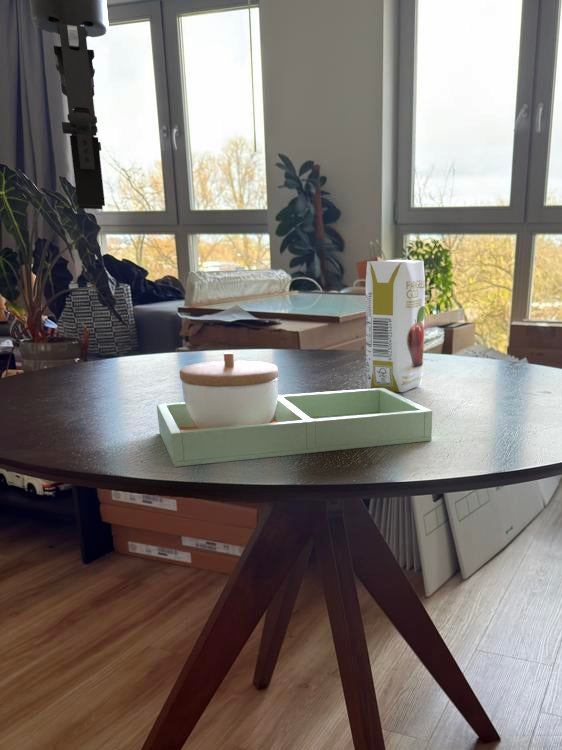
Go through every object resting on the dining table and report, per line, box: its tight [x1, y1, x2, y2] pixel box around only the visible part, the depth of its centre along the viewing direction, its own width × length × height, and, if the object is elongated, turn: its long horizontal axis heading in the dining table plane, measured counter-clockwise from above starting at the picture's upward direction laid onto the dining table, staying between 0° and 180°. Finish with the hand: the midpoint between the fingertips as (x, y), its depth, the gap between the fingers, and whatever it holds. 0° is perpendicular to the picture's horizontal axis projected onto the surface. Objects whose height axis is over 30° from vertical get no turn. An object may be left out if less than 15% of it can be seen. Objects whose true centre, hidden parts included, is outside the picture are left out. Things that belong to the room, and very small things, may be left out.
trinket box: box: [179, 351, 280, 429], centre depth 81 cm, size 11×11×9 cm
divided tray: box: [156, 388, 433, 468], centre depth 85 cm, size 29×15×4 cm, turn 112°
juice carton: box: [365, 259, 426, 393], centre depth 111 cm, size 8×9×19 cm
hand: (91, 207), depth 82 cm, fingers open, 13 cm apart
